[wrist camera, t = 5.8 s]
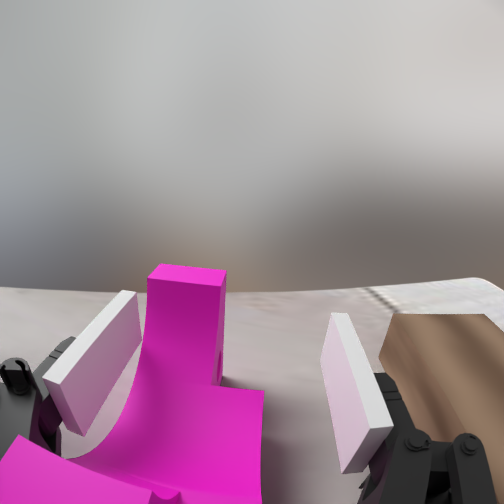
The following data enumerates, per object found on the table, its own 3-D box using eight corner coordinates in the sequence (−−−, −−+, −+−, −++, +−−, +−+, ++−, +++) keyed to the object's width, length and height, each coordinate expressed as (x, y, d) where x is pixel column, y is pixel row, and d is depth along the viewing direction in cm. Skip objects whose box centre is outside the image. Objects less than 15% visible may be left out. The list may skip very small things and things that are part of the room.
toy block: (244, 606, 4) (271, 614, 2) (86, 568, 4) (-25, 502, 2) (260, 378, 18) (273, 274, 16) (167, 366, 18) (160, 263, 16)
